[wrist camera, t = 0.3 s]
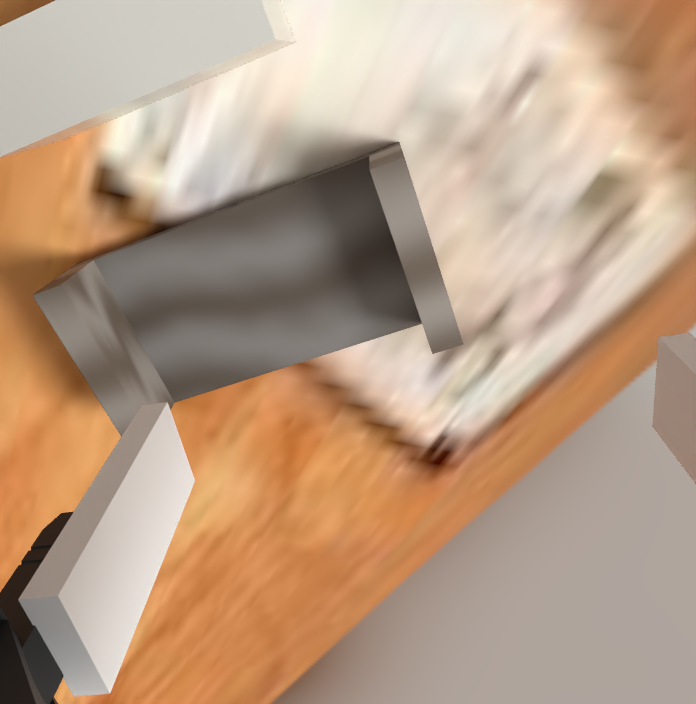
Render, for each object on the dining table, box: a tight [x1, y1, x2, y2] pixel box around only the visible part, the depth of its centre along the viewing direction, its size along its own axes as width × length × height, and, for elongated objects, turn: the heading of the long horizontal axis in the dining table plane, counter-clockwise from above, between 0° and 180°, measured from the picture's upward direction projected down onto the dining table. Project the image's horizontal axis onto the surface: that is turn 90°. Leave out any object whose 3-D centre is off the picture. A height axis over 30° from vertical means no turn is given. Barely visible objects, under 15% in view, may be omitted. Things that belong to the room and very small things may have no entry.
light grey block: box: [0, 0, 296, 158], centre depth 33 cm, size 5×16×9 cm, turn 110°
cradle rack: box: [32, 142, 463, 437], centre depth 40 cm, size 12×24×6 cm, turn 110°
